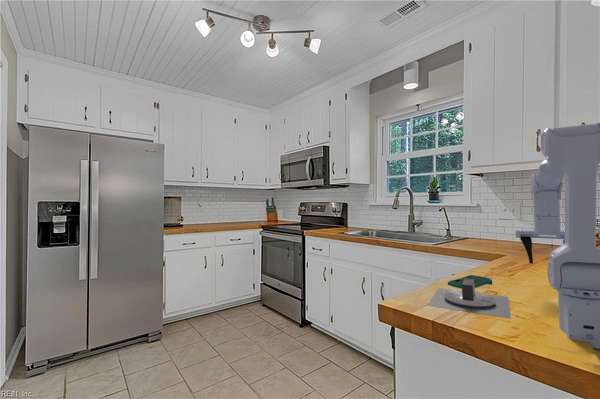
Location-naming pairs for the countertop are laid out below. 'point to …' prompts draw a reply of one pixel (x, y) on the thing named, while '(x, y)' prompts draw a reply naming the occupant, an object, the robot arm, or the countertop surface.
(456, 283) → the digital multimeter
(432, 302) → the dial panel
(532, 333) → the countertop surface
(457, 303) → the dial
